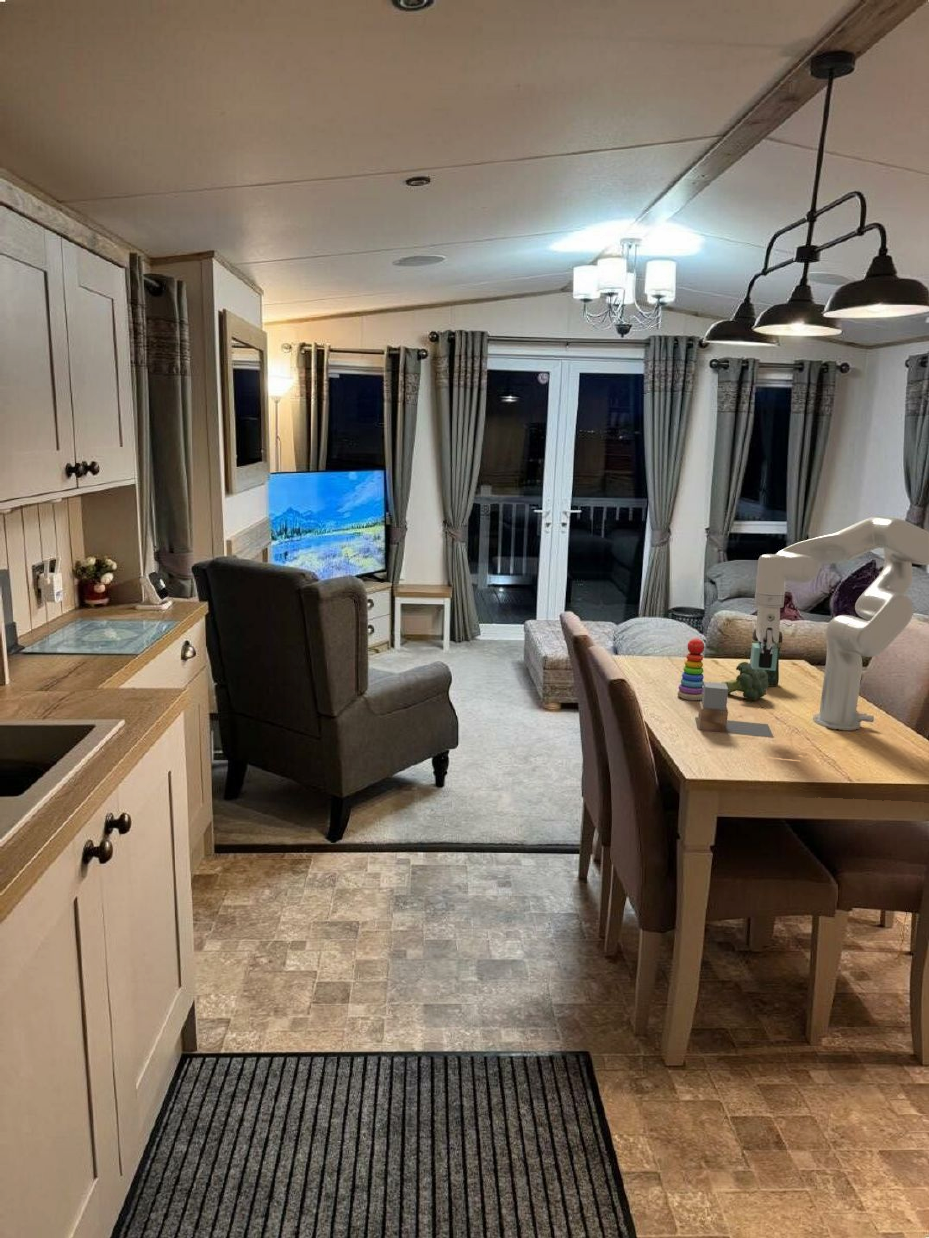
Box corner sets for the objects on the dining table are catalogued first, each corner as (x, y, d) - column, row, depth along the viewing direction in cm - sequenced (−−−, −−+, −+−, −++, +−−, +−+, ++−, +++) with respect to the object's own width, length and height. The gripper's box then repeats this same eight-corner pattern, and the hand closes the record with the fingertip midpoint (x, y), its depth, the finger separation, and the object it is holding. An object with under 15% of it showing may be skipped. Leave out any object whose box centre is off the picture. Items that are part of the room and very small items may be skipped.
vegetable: (729, 681, 281) (774, 668, 273) (733, 715, 274) (778, 703, 266) (712, 663, 274) (757, 650, 266) (715, 698, 267) (762, 685, 258)
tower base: (723, 724, 241) (725, 704, 240) (725, 732, 234) (728, 711, 233) (697, 722, 242) (699, 701, 241) (699, 729, 235) (701, 708, 234)
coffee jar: (773, 681, 292) (780, 627, 288) (780, 687, 284) (786, 632, 280) (744, 679, 292) (750, 626, 289) (750, 685, 285) (756, 631, 281)
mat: (767, 725, 243) (767, 724, 243) (773, 739, 231) (774, 737, 231) (694, 718, 247) (694, 717, 246) (697, 731, 235) (697, 730, 235)
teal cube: (772, 665, 239) (774, 644, 238) (775, 670, 233) (777, 649, 232) (749, 663, 240) (751, 642, 239) (752, 669, 234) (754, 647, 233)
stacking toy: (704, 702, 263) (710, 642, 260) (677, 699, 265) (683, 640, 261) (702, 695, 271) (708, 637, 267) (676, 693, 272) (682, 635, 269)
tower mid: (723, 704, 239) (726, 683, 238) (726, 710, 233) (728, 689, 232) (701, 702, 240) (703, 681, 239) (703, 708, 235) (705, 687, 233)
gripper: (789, 606, 224) (782, 673, 227) (778, 595, 240) (772, 658, 244) (759, 605, 225) (752, 671, 229) (750, 594, 242) (745, 656, 245)
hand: (763, 663), depth 236 cm, fingers closed on teal cube, 6 cm apart
